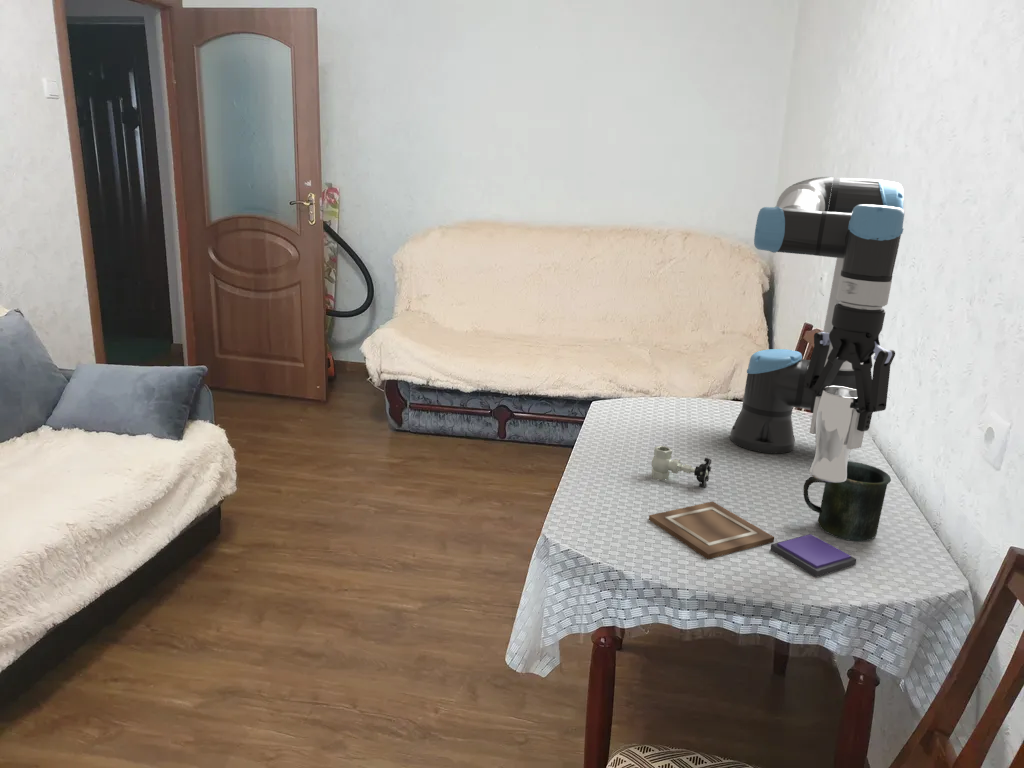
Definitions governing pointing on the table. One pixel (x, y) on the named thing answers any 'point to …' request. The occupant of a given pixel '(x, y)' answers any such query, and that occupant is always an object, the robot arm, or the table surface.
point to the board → (711, 529)
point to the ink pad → (813, 555)
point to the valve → (677, 466)
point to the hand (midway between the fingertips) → (834, 439)
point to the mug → (852, 502)
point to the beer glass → (833, 433)
